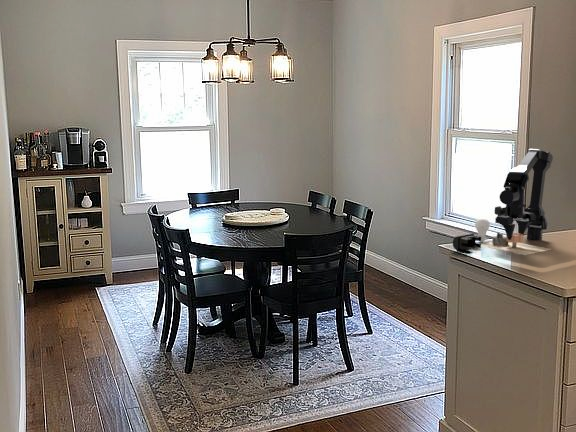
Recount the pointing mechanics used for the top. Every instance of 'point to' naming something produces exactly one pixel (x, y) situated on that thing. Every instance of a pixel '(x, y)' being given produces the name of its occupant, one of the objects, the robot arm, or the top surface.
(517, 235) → the loose gear
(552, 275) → the top surface
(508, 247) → the gear board
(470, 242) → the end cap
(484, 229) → the lightbulb
